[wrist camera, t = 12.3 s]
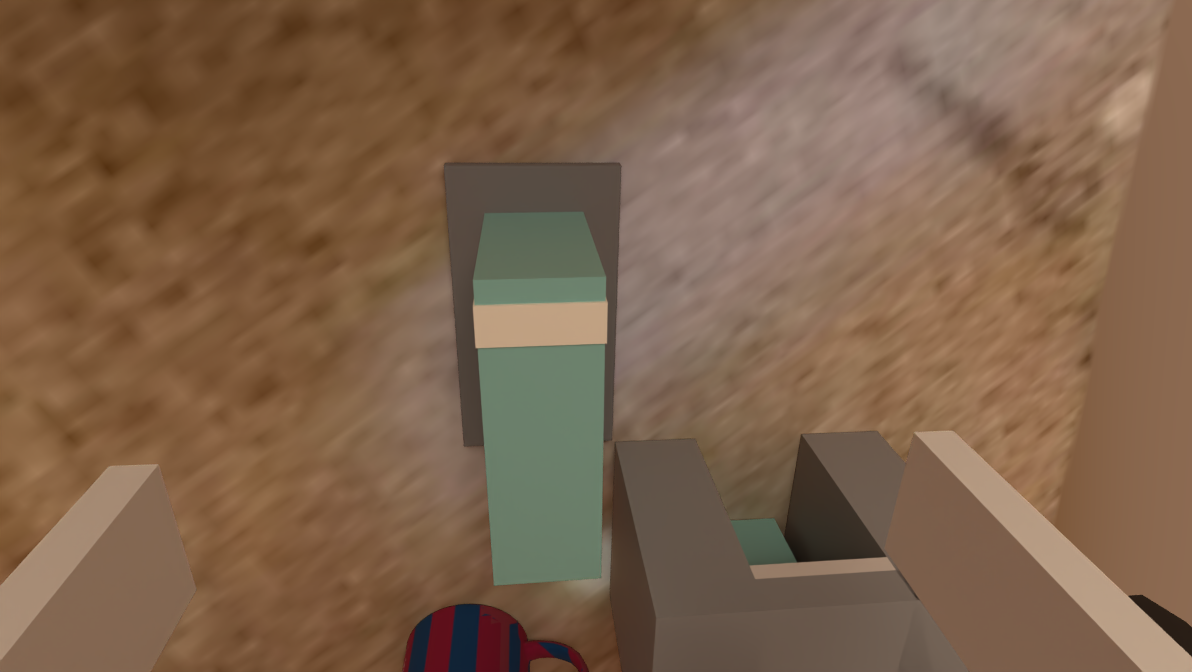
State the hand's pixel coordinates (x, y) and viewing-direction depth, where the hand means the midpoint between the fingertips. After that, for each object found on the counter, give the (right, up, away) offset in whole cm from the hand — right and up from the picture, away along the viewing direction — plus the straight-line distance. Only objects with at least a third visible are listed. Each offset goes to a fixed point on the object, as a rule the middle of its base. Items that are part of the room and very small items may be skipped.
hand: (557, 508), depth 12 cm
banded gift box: (-2, +3, +18) cm, 18 cm away
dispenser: (+8, -6, +24) cm, 26 cm away
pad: (-2, +4, +18) cm, 19 cm away
